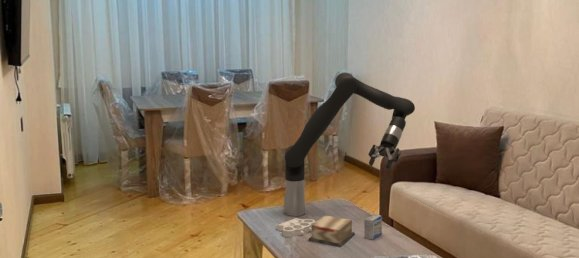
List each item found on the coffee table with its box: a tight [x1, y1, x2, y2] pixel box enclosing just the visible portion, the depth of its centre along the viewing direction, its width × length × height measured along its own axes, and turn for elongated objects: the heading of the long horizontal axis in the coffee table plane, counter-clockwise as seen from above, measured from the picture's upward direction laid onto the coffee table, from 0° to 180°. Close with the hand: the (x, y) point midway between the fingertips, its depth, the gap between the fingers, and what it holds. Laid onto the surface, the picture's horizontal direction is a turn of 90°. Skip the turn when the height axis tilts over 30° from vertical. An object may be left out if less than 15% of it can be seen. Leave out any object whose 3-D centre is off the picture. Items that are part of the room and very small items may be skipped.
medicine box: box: [363, 213, 383, 240], centre depth 253 cm, size 8×4×9 cm, turn 143°
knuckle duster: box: [275, 217, 316, 238], centre depth 262 cm, size 3×18×15 cm
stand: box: [308, 215, 356, 248], centre depth 252 cm, size 15×15×7 cm
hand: (378, 166), depth 265 cm, fingers open, 8 cm apart
